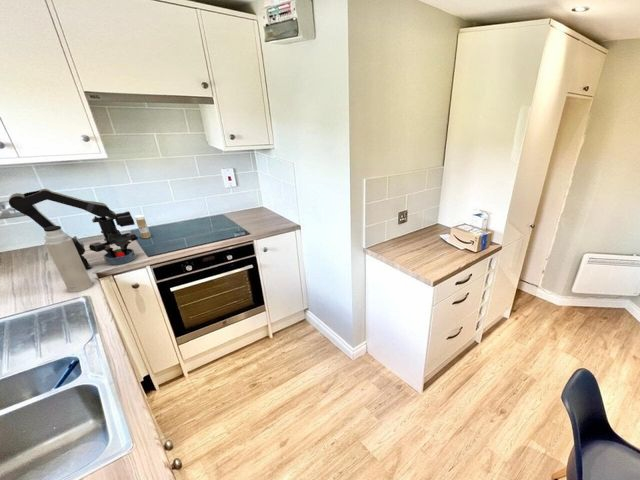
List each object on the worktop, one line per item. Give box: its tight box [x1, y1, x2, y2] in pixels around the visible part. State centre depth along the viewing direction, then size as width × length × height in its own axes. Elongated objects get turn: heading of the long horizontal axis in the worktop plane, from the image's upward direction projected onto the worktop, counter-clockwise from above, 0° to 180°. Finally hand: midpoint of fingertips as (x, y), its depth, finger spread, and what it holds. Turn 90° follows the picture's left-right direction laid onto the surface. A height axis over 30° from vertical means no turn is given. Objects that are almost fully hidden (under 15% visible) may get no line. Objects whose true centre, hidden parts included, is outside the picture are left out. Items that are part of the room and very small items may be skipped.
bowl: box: [102, 247, 137, 266], centre depth 165 cm, size 12×12×4 cm
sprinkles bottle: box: [134, 214, 152, 239], centre depth 190 cm, size 5×5×14 cm
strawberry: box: [115, 248, 125, 257], centre depth 164 cm, size 4×4×6 cm
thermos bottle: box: [43, 225, 93, 293], centre depth 135 cm, size 8×8×28 cm
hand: (120, 257), depth 165 cm, fingers closed on strawberry, 4 cm apart
